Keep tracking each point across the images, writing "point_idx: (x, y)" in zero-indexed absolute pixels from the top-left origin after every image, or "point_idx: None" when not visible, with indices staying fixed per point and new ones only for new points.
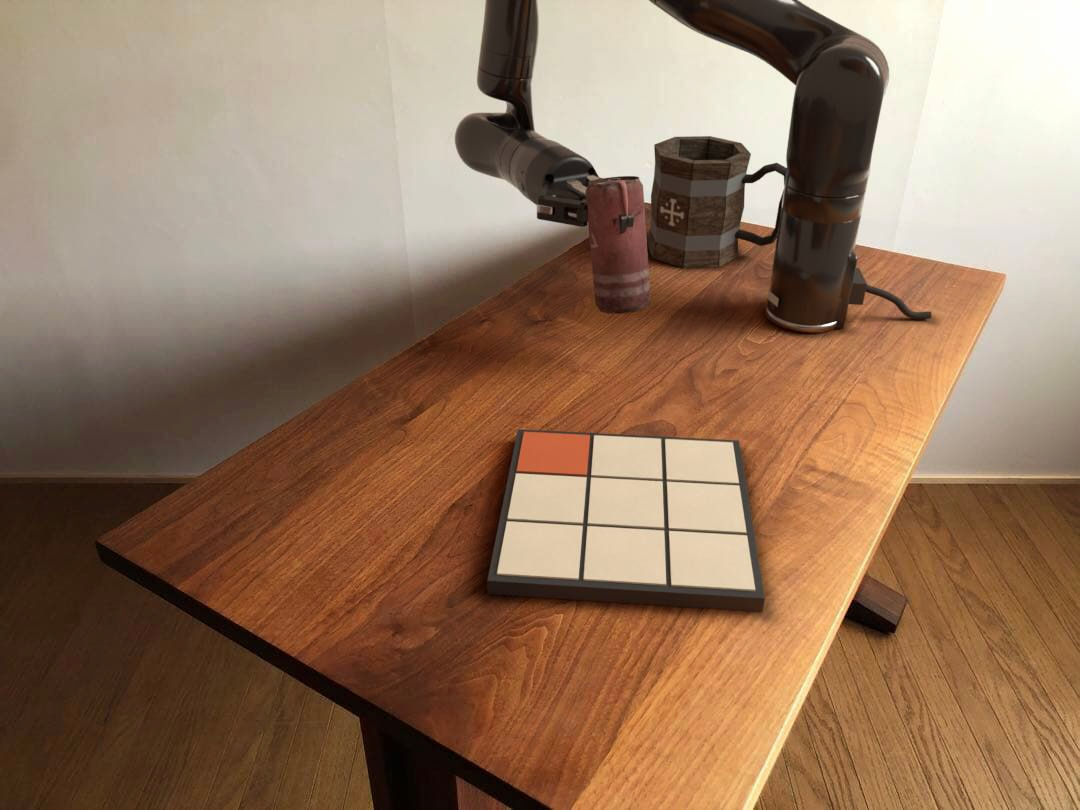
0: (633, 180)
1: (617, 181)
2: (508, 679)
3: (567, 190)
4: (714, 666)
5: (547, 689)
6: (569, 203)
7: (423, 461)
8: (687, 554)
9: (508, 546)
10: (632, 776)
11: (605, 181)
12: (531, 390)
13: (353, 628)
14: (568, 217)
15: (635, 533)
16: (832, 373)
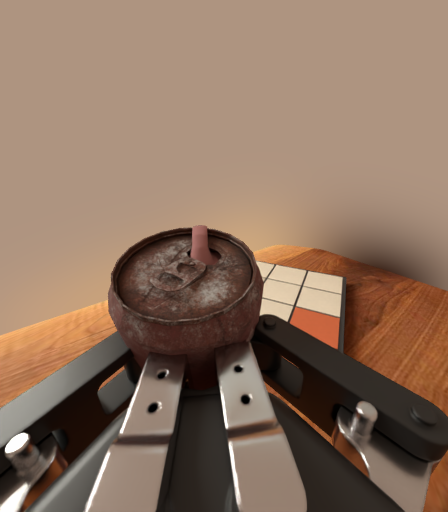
0: (169, 230)
1: (204, 231)
2: (333, 264)
3: (298, 469)
4: (269, 258)
5: (320, 261)
6: (306, 333)
7: (419, 365)
8: (263, 270)
9: (338, 284)
10: (300, 248)
11: (174, 317)
12: (332, 445)
13: (399, 283)
14: (299, 390)
15: (280, 279)
16: (49, 365)
